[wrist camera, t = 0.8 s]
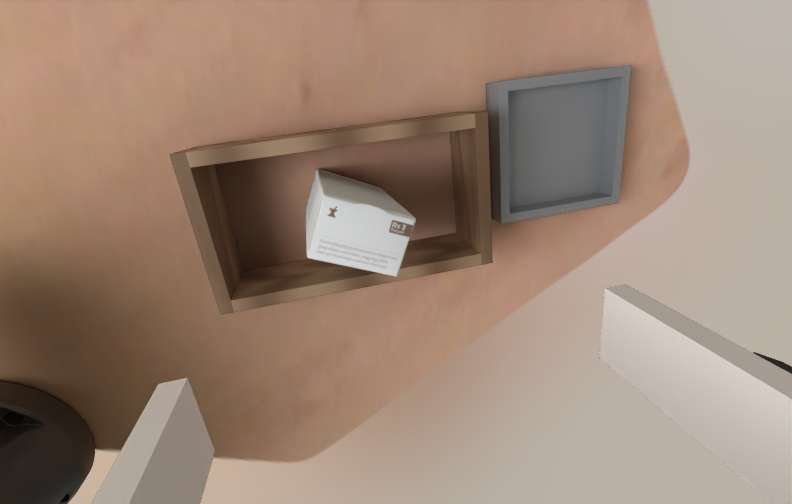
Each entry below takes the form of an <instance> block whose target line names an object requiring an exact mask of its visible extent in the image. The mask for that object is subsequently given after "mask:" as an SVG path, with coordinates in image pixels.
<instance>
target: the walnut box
mask: <svg viewBox="0 0 792 504" xmlns="http://www.w3.org/2000/svg"><path fill="white" fill-rule="evenodd" d="M449 131H450V142H451V157H452V172H453V188H454V203H455V219H456V233H454V234H448V235H442V236H437V237H431V238H425V239H420V240H414V241H409V243H408V245H407V248H406V251H405V254H404V258H403V261H402V264H401V267H400V270H399V273H398V276H397V277H395V276H392V275H386V274H381V273H377V272H372V271H367V270H362V269H358V268H353V267H348V266H343V265H338V264H334V263H329V262H324V261H319V260H314V259H308V260H302V261H296V262H291V263H285V264H280V265H274V266H268V267H263V268H257V269H251V270H246V271H244V269H243V266H242V262H241V259H240V255H239V251H238V248H237V244H236V241H235V237H234V234H233V230H232V227H231V223H230V219H229V216H228V212H227V209H226V205H225V202H224V198H223V195H222V191H221V188H220V184H219V180H218V177H217V173H216V170H215V166H214V164H220V163H227V162H234V161H241V160H249V159H256V158H263V157H270V156H277V155H284V154H292V153H299V152H306V151H313V150H320V149H327V148H335V147H342V146H349V145H356V144H363V143H370V142H378V141H385V140H392V139H399V138H406V137H413V136H421V135H428V134H435V133H442V132H449ZM169 155H170V158H171V161H172V164H173V168H174V171H175V174H176V177H177V180H178V183H179V186H180V189H181V193H182V196H183V199H184V202H185V205H186V208H187V211H188V215H189V218H190V221H191V224H192V227H193V230H194V233H195V236H196V240H197V243H198V246H199V249H200V252H201V255H202V258H203V262H204V265H205V268H206V271H207V274H208V277H209V280H210V283H211V287H212V290H213V293H214V296H215V299H216V302H217V305H218V309H219V312H220V315H223V314H228V313H233V312H238V311H244V310H249V309H254V308H259V307H264V306H270V305H275V304H280V303H285V302H290V301H296V300H301V299H306V298H311V297H316V296H322V295H327V294H332V293H337V292H342V291H348V290H353V289H358V288H363V287H369V286H374V285H379V284H384V283H389V282H395V281H400V280H405V279H410V278H415V277H421V276H426V275H431V274H436V273H441V272H447V271H452V270H457V269H462V268H467V267H473V266H478V265H483V264H488V263H493V261H492V229H491V196H490V164H489V131H488V112H455V113H447V114H439V115H432V116H424V117H417V118H409V119H402V120H394V121H387V122H379V123H372V124H364V125H357V126H349V127H341V128H334V129H326V130H319V131H311V132H304V133H296V134H289V135H281V136H274V137H266V138H259V139H251V140H243V141H236V142H228V143H221V144H213V145H206V146H198V147H193V148H190V149H186V150H183V151H180V152H176V153H173V154H169Z"/></svg>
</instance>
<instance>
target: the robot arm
mask: <svg viewBox="0 0 792 504" xmlns="http://www.w3.org/2000/svg"><path fill="white" fill-rule="evenodd" d="M599 358H600V359H601V360H603V361H604V362H605V363H606V364H607V365H608V366H610V367H611V368H612V369H613V370H614V371H616V372H617V373H618V374H619V375H620V376H622V377H623V378H624V379H625V380H626V381H627V382H629V383H630V384H631V385H632V386H633V387H635V388H636V389H637V390H638V391H639V392H640V393H642V394H643V395H644V396H645V397H646V398H647V399H649V400H650V401H651V402H652V403H653V404H655V405H656V406H657V407H658V408H660V410H662V411H663V412H664V413H665V414H666V415H668V416H669V417H670V418H671V419H672V420H674V421H675V422H676V423H677V424H678V425H679V426H681V427H682V428H683V429H684V430H685V431H687V432H688V433H689V434H690V435H691V436H692V437H694V438H695V439H696V440H697V441H698V442H699V443H701V444H702V445H703V446H704V447H705V448H707V449H708V450H709V451H710V452H711V453H712V454H714V455H715V456H716V457H717V458H718V459H720V460H721V461H722V462H723V463H724V464H725V465H727V466H728V467H729V468H730V469H731V470H732V471H734V472H735V473H736V474H737V475H738V476H740V477H741V478H742V479H743V480H744V481H746V482H747V483H748V484H749V485H750V486H751V487H753V488H754V489H755V490H756V491H757V492H758V493H760V494H761V495H762V496H763V497H764V498H766V499H767V500H768V501H769V502H770V503H771V504H792V367H791V366H789V365H787V364H785V363H783V362H781V361H778V360H775V359H772V358H769V357H766V356H764V355H761V354H758V353H755V352H754V353H752V352H750V351H748V350H746V349H745V348H743V347H741V346H739V345H737V344H735V343H734V342H732V341H730V340H728V339H726V338H724V337H722V336H720V335H718V334H717V333H715V332H713V331H711V330H709V329H708V328H706V327H704V326H702V325H700V324H698V323H696V322H695V321H693V320H691V319H689V318H687V317H686V316H684V315H682V314H680V313H678V312H676V311H674V310H673V309H671V308H669V307H667V306H665V305H663V304H662V303H659V302H658V301H656V300H654V299H652V298H650V297H649V296H647V295H645V294H643V293H641V292H639V291H638V290H635V289H634V288H632V287H630V286H628V285H626V284H624V285H619V286H615V287H610V288H606V289H605V298H604V310H603V321H602V332H601V344H600V355H599ZM214 453H215V450H214V447H213V445H212V442H211V439H210V436H209V434H208V431H207V428H206V426H205V423H204V420H203V418H202V415H201V412H200V410H199V407H198V404H197V402H196V399H195V396H194V394H193V391H192V388H191V385H190V383H189V380H188V378H183V379H179V380H174V381H169V382H165V383H160V384H158V386H157V387H156V389H155V391H154V393H153V394H152V396H151V398H150V400H149V402H148V403H147V405H146V407H145V409H144V410H143V412H142V414H141V416H140V418H139V419H138V421H137V423H136V425H135V427H134V428H133V430H132V432H131V434H130V435H129V437H128V439H127V441H126V443H125V444H124V446H123V448H122V450H121V451H120V453H119V455H118V457H117V459H116V461H115V462H114V464H113V466H112V468H111V469H110V471H109V473H108V475H107V476H106V478H105V480H104V482H103V483H102V485H101V487H100V489H99V491H98V492H97V495H96V496H95V498H94V500H93V501H92V503H91V504H200V502H201V499H202V495H203V491H204V488H205V484H206V481H207V477H208V474H209V470H210V466H211V463H212V460H213V456H214ZM94 456H95V446H94V441H93V438H92V435H91V433H90V430H89V429H88V427H87V425H86V424H85V422H84V421H83V420H82V419H81V417H80V416H79V415H78V414H77V413H76V412H75V411H74V410H72V409H71V408H70V407H69V406H67V405H66V404H64V403H63V402H61V401H60V400H58V399H56V398H55V397H53V396H51V395H49V394H46V393H44V392H42V391H39V390H36V389H33V388H30V387H27V386H23V385H19V384H14V383H7V382H0V504H67V503H68V502H69V501H70V500H71V499H72V498H73V496H74V495H75V494H76V492H77V491H78V490H79V488H80V486H81V485H82V483H83V482H84V480H85V478H86V477H87V475H88V474H89V472H90V470H91V468H92V465H93V461H94Z"/></svg>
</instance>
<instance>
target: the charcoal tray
mask: <svg viewBox="0 0 792 504" xmlns="http://www.w3.org/2000/svg"><path fill="white" fill-rule="evenodd" d="M630 76H631V65H629V66H621V67H613V68H605V69H597V70H589V71H580V72H572V73H564V74H556V75H548V76H540V77H532V78H523V79H515V80H507V81H499V82H493V83H487V84H486V104H487V112H488V131H489V164H490V196H491V218H492V219H494V220H496V221H497V222H499V223H501V224H504V223H510V222H515V221H521V220H527V219H532V218H538V217H544V216H549V215H555V214H560V213H566V212H572V211H577V210H583V209H589V208H594V207H600V206H605V205H611V204H617V203H619V198H620V187H621V176H622V165H623V154H624V143H625V132H626V121H627V110H628V99H629V87H630Z"/></svg>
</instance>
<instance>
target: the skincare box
mask: <svg viewBox="0 0 792 504" xmlns="http://www.w3.org/2000/svg"><path fill="white" fill-rule="evenodd" d="M415 222H416V218H415V217H414V216H413V215H411V214H410V213H409V212H408V211H407V210H406V209H405V208H403V207H402V206H401V205H400V204H399V203H398V202H396V201H395V200H394V199H393V198H392V197H391V196H390V195H388V194H387V193H386V192H385V191H384V190H383V189H382V188H380V187H378V186H374V185H371V184H368V183H364V182H361V181H358V180H354V179H351V178H347V177H344V176H341V175H337V174H334V173H331V172H327V171H324V170H320V169H317V170H316V173H315V177H314V180H313V184H312V188H311V192H310V195H309V199H308V203H307V207H306V245H307V249H306V253H307V257H308V258H310V259H314V260H319V261H324V262H329V263H334V264H338V265H343V266H348V267H353V268H358V269H362V270H367V271H372V272H377V273H381V274H386V275H392V276H395V277H397V276H398V273H399V270H400V267H401V264H402V261H403V258H404V254H405V251H406V248H407V245H408V243H409V240H410V237H411V234H412V231H413V228H414V225H415Z"/></svg>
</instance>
